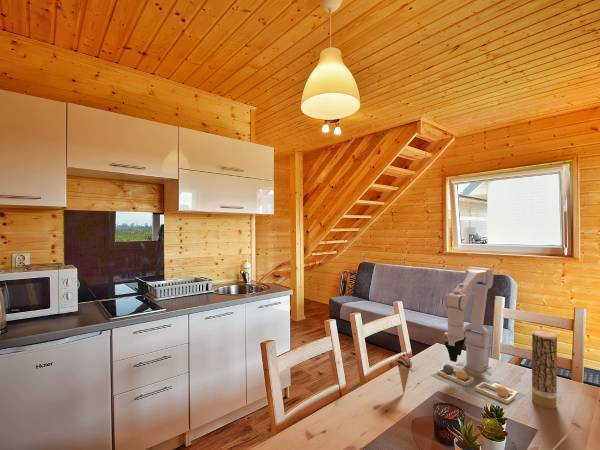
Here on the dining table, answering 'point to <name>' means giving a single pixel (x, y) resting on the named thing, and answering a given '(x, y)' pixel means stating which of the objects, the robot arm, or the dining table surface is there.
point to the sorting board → (479, 387)
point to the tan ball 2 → (502, 391)
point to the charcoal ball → (448, 369)
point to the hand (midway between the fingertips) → (455, 357)
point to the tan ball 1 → (461, 374)
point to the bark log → (544, 369)
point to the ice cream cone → (404, 369)
